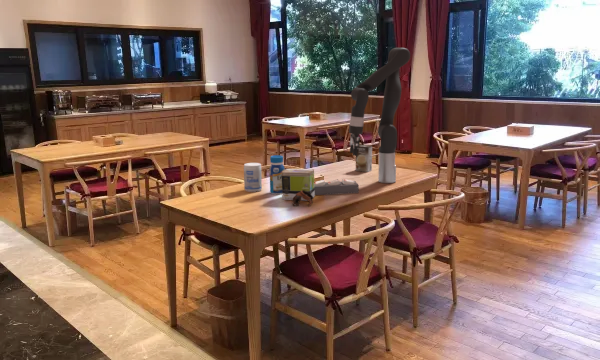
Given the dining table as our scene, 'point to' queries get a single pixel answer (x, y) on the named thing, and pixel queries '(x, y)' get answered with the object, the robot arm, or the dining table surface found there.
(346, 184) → the plate
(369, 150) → the coffee box
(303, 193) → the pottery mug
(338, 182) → the rocker
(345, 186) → the strip housing
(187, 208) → the dining table surface
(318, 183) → the rocker
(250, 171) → the supplement tub
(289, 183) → the tea box
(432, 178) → the dining table surface
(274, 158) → the beverage bottle
